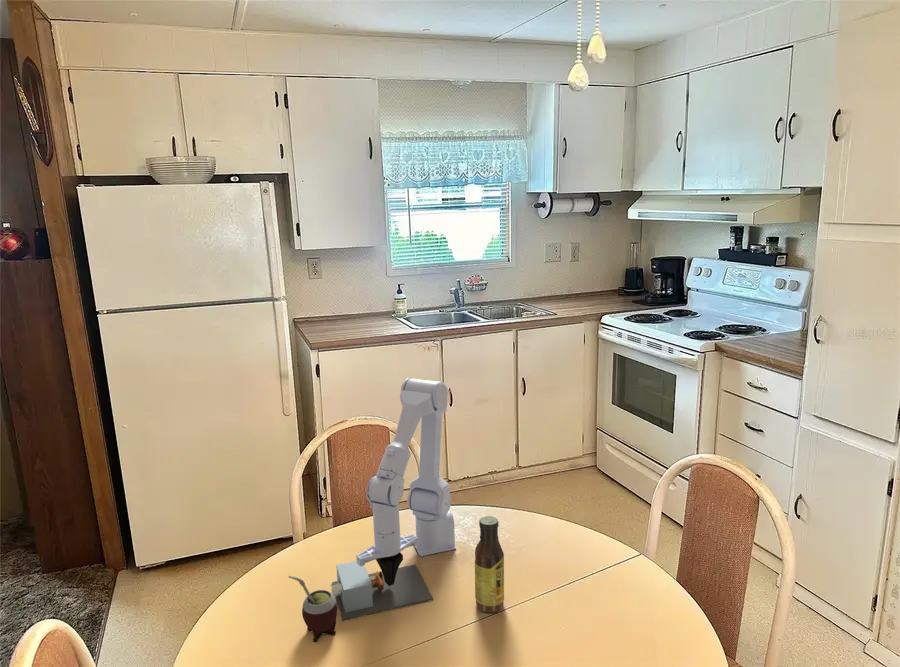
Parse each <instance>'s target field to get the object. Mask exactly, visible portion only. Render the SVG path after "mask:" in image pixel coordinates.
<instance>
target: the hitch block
mask: <svg viewBox="0 0 900 667" xmlns="http://www.w3.org/2000/svg"><path fill="white" fill-rule="evenodd" d="M335 565H336V566H335V567H336V576H337V577H336V578H337V579H336V581H338V584H340V583H341V586H342V595H340V596H341V599H342V603H343V606H344V610H345V613H346V612H350V611H355V610H359V609H363V608H368V607H372V606H373V597H372V583H371V581H370V578H369V575H368V574H369V573H368V570H367V568H366V565H364V566H362V567H360V566H359V565H358V563H357V560H353V561H348V562H344V563H338V564H335Z"/></svg>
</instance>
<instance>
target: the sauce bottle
mask: <svg viewBox="0 0 900 667" xmlns="http://www.w3.org/2000/svg"><path fill="white" fill-rule="evenodd" d="M478 524H479V525H478V526H479V529H480V530H479V533H480V535H479V541H478V543H477V544H476V546H475V549H474V550H475V551H474V559H475V560H474V595H475V604H476V607H477V609H479V611H482V612H484V613H490V614H491V613H496V612H498V611H500V610H501V609H502V608H503V607H504V600H505V554H504V551H503V548H502V546H501V543H500V541H499V534H498V533H499V530H498V529H499V526H500V525H499V519H498V518H497V517H495V516H491V515H486V516H482V517H480V519H479V520H478Z"/></svg>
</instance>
